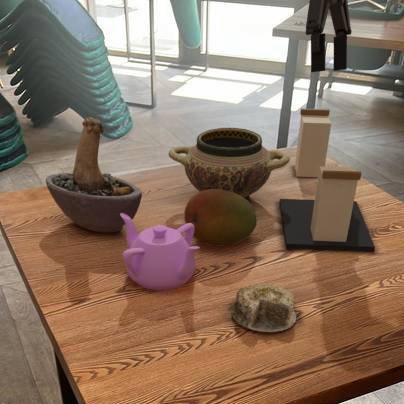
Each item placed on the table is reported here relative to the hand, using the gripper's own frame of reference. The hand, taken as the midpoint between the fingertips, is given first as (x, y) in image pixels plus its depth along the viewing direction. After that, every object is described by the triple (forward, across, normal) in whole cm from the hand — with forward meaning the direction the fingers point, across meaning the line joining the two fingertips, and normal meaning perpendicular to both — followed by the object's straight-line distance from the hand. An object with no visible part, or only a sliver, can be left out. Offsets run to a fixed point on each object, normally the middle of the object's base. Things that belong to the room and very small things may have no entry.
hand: (329, 71), depth 119 cm
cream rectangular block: (+21, -4, -6) cm, 22 cm away
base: (+27, +21, +6) cm, 35 cm away
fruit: (+27, +37, -8) cm, 47 cm away
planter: (+23, +45, -31) cm, 59 cm away
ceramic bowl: (+23, +20, -16) cm, 34 cm away
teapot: (+29, +53, -11) cm, 61 cm away
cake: (+34, +54, +8) cm, 65 cm away
